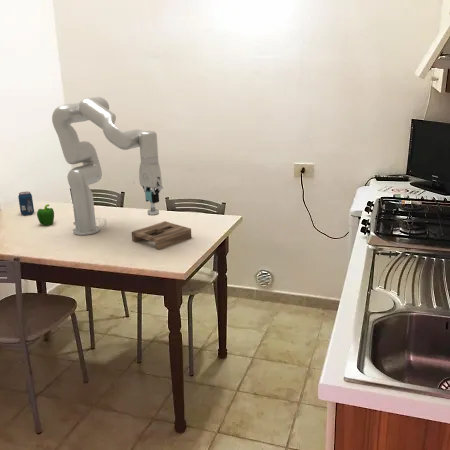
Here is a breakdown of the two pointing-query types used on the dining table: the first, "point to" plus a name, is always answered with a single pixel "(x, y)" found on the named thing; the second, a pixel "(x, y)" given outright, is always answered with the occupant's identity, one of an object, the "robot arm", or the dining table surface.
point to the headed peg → (151, 203)
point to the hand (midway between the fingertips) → (152, 201)
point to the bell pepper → (45, 216)
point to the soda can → (26, 203)
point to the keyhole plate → (162, 234)
